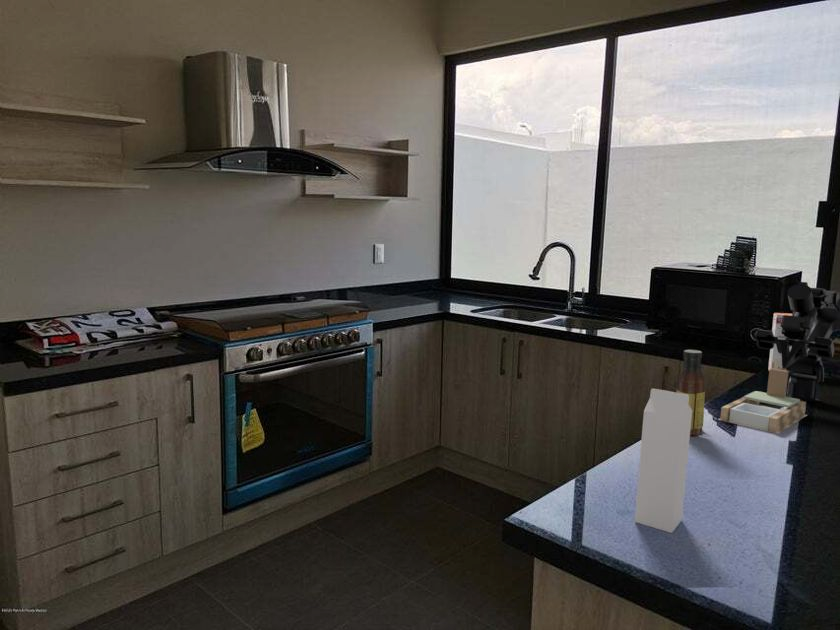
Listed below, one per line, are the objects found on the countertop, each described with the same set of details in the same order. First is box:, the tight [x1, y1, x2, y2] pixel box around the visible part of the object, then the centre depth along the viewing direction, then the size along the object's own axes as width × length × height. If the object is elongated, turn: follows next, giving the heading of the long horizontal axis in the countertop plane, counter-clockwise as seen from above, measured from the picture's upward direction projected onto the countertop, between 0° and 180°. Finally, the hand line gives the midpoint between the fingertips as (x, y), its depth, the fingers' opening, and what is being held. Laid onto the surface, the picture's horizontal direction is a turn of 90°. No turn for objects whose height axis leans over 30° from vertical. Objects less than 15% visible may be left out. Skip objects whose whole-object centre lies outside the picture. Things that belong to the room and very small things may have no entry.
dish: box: [729, 403, 782, 430], centre depth 159 cm, size 9×9×3 cm
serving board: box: [717, 396, 808, 435], centre depth 164 cm, size 24×14×4 cm, turn 134°
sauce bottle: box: [676, 349, 706, 436], centre depth 150 cm, size 6×6×20 cm
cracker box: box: [767, 312, 815, 371], centre depth 219 cm, size 14×6×21 cm, turn 71°
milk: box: [634, 388, 692, 534], centre depth 103 cm, size 6×6×22 cm
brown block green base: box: [743, 368, 800, 408], centre depth 166 cm, size 9×11×8 cm
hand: (783, 367), depth 171 cm, fingers closed
